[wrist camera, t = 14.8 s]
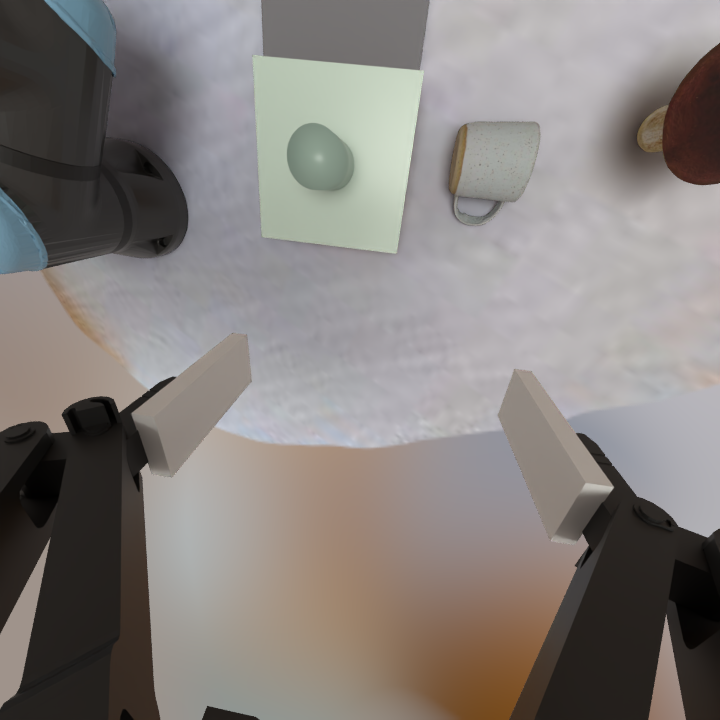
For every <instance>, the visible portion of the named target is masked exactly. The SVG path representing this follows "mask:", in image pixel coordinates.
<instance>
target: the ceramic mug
mask: <svg viewBox="0 0 720 720" xmlns="http://www.w3.org/2000/svg"><path fill="white" fill-rule="evenodd" d="M539 143H540V126H539V124H538V123H536V122H474V123H468V124H465V125H463V126H462V127H461V128H460V129H459V131H458V134H457V137H456V141H455V146H454V151H453V156H452V162H451V169H450V176H449V190H450V192H451V193H452V194H455V195H454V212H455V215H456V217H457V218H458V219H459V221H460V222H462V223H464V224H466V225H471V226H479V225H483V224H485V223H487V222H489V221H490V220H492V219H493V218H494V217H495V216H496V215H497V213H498V212H499V211H500V209H501V208H502V206H503V204H504V202H516V201H517V200H518V199H519V198H520V197H521V195H522V193H523V192H524V190H525V188H526V186H527V183H528V181H529V179H530V176H531V174H532V170H533V168H534V164H535V161H536V157H537V152H538V148H539ZM459 196H461V197H469V198H481V199H488V200H496V201H498V203H497V205H496V206H495V208H494V209H493V210H492V211H491V212H490V213H489V214H487V215H486V216H483V217H474V216H469V215H467V214H466V213H465V214H461V213H460V212H459V210H458V208H457V201H458V197H459Z"/></svg>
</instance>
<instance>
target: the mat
mask: <svg viewBox="0 0 720 720" xmlns="http://www.w3.org/2000/svg"><path fill="white" fill-rule="evenodd" d="M261 2H262V29H263V56H267V57H278V58H289V59H300V60H311V61H322V62H333V63H344V64H355V65H366V66H377V67H388V68H399V69H410V70H419V69H420V62H421V55H422V48H423V41H424V34H425V27H426V20H427V13H428V6H429V0H261Z"/></svg>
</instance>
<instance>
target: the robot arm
mask: <svg viewBox="0 0 720 720" xmlns="http://www.w3.org/2000/svg"><path fill="white" fill-rule="evenodd" d="M115 46H116V26H115V22H114V19H113V17H112V15H111V13H110V11H109V9H108V8H107V6H106V5H105V4H104V2H103V1H102V0H0V274H8V273H15V272H22V271H39V270H42V269H45V268H49V267H53V266H58V265H62V264H66V263H71V262H75V261H79V260H84V259H88V258H92V257H97V256H101V255H105V254H110V253H114V254H119V255H125V256H131V257H137V258H153V257H158V256H161V255H165V254H168V253H170V252H172V251H173V250H174V249H176V248H177V247H178V246H179V244H180V243H181V242H182V240H183V238H184V236H185V233H186V229H187V222H188V215H187V206H186V202H185V198H184V195H183V192H182V190H181V187H180V185H179V183H178V181H177V180H176V178H175V176H174V175H173V173H172V172H171V171H170V169H169V168H168V167H167V165H166V164H165V163H164V162H163V161H162V160H161V159H160V158H159V157H158V156H156V155H155V154H154V153H153V152H151V151H150V150H148V149H147V148H145V147H143V146H141V145H139V144H137V143H134V142H131V141H126V140H121V139H115V138H105V135H106V127H107V119H108V111H109V102H110V94H111V86H112V78H113V77H116V69H115V67H114V60H115ZM251 381H252V379H251V369H250V359H249V349H248V339H247V335H245V334H237V333H232V334H230V335H229V336H228V337H227V338H225V339H224V340H223V341H222V342H220V343H219V344H218V345H217V346H215V347H214V348H213V349H212V350H210V351H209V352H208V353H207V354H205V355H204V356H203V357H202V358H200V359H199V360H198V361H197V362H195V363H194V364H193V365H192V366H190V367H189V368H188V369H186V370H185V371H184V372H183V373H181V374H180V375H179V376H178V377H170V378H168V379H166V380H164V381H161V382H159V383H158V384H157V385H155V386H154V387H153V388H151V389H150V391H147V392H146V393H145V394H143V395H142V397H140V398H138V399H137V400H136V401H134V402H133V403H132V404H130V405H129V406H128V407H126V408H125V409H124V410H122V411H121V412H120V413H119V412H118V409H117V406H116V404H115V402H114V399H112V398H110V397H102V396H100V397H92V398H88V399H84V400H81V401H79V402H76V403H74V404H72V405H70V406H69V407H68V408H66V409H65V410H64V412H63V413H62V417H63V419H64V421H65V423H66V425H67V427H68V429H69V432H63V433H51V431H50V429H49V427H48V425H47V424H46V423H44V422H40V421H38V422H27V423H21V424H18V425H16V426H12V427H9V428H8V429H6V430H4V431H2V432H0V633H1V631H2V629H3V627H4V626H5V624H6V622H7V619H8V618H9V616H10V614H11V612H12V610H13V608H14V606H15V604H16V602H17V600H18V598H19V597H20V595H21V592H22V591H23V589H24V587H25V585H26V583H27V581H28V579H29V577H30V575H31V573H32V572H33V570H34V568H35V566H36V564H37V562H38V560H39V558H40V556H41V554H42V552H43V550H44V548H45V546H46V545H47V543H48V541H49V539H50V544H49V549H48V553H47V558H46V563H45V568H44V573H43V578H42V583H41V588H40V593H39V598H38V603H37V608H36V613H35V618H34V623H33V628H32V632H31V638H30V642H29V648H28V653H27V657H26V663H25V667H24V672H23V677H22V681H21V685H20V688H19V690H18V691H17V693H16V695H15V696H14V697H12V698H10V699H9V700H8V701H6V702H5V703H4V704H3V706H2V707H1V709H0V720H160V715H159V710H158V706H157V701H156V697H155V691H154V680H153V679H154V678H153V661H152V643H151V625H150V608H149V589H148V573H147V554H146V538H145V537H146V536H145V520H144V501H143V483H142V476H141V473H140V470H141V469H142V468H143V467H144V466H145V464H147V463H148V464H149V467H150V470H151V473H152V474H153V475H159V476H165V477H173V475H174V474H175V473H176V472H177V471H178V470H179V468H180V467H181V466H182V465H183V463H184V462H185V461H186V460H187V459H188V457H189V456H190V455H191V454H192V452H193V451H194V450H195V449H196V448H197V447H198V445H199V444H200V443H201V442H202V440H203V439H204V438H205V437H206V436H207V434H208V433H209V432H210V431H211V430H212V428H213V427H214V426H215V425H216V424H217V422H218V421H219V420H220V419H221V418H222V416H223V415H224V414H225V413H226V412H227V410H228V409H229V408H230V407H231V406H232V404H233V403H234V402H235V401H236V399H237V398H238V397H239V396H240V395H241V393H242V392H243V391H244V390H245V389H246V387H247V386H248V385H249V384H250V383H251ZM498 417H499V420H500V422H501V424H502V427H503V429H504V432H505V434H506V436H507V439H508V441H509V443H510V446H511V448H512V451H513V453H514V455H515V458H516V460H517V463H518V465H519V467H520V470H521V472H522V475H523V477H524V479H525V482H526V484H527V486H528V489H529V491H530V493H531V496H532V499H533V501H534V503H535V506H536V508H537V510H538V513H539V515H540V518H541V520H542V522H543V525H544V527H545V530H546V532H547V534H548V537H549V539H550V541H553V542H559V543H565V544H571V545H575V544H576V542H577V541H578V539H579V538H580V536H581V535H582V534H583V535H584V536H585V539H586V541H587V542H588V544H589V546H588V548H587V549H586V551H585V552H584V553H583V555H582V556H581V557H580V559H579V560H578V562H577V563H576V565H575V566H576V567H577V570H576V572H575V574H574V576H573V579H572V581H571V583H570V585H569V588H568V590H567V592H566V594H565V596H564V599H563V601H562V603H561V605H560V608H559V610H558V612H557V614H556V616H555V619H554V621H553V623H552V625H551V628H550V630H549V632H548V634H547V637H546V639H545V641H544V643H543V645H542V648H541V650H540V652H539V655H538V657H537V659H536V661H535V663H534V666H533V668H532V670H531V672H530V674H529V677H528V679H527V681H526V683H525V686H524V688H523V690H522V692H521V695H520V697H519V699H518V701H517V703H516V706H515V708H514V710H513V712H512V715H511V717H510V719H509V720H648V718H649V712H650V706H651V700H652V694H653V688H654V682H655V676H656V670H657V664H658V658H659V652H660V646H661V641H662V634H663V628H664V623H665V617H666V615H667V620H668V625H669V631H670V636H671V641H672V646H673V652H674V658H675V662H676V668H677V674H678V679H679V684H680V690H681V695H682V701H683V706H684V710H685V716H686V720H720V529H718V530H716V531H715V532H713V534H712V535H711V536H710V537H708V538H707V537H704V536H702V535H699V534H696V533H694V532H691V531H688V530H686V529H683V528H681V527H678V525H677V524H676V522H675V521H674V520H673V518H672V517H671V516H669V514H667V513H666V512H665V511H664V510H663V509H661V508H660V507H658V506H657V505H655V504H654V503H652V502H650V501H647V500H645V499H643V498H639V497H637V496H636V494H635V493H634V492H633V491H632V489H631V488H630V487H629V485H628V484H627V483H626V481H625V480H624V479H623V478H622V476H621V475H620V474H619V472H618V471H617V470H616V469H615V467H614V466H612V463H611V462H610V461H609V459H608V458H607V457H605V454H604V453H603V452H602V450H601V449H600V448H599V446H598V445H597V444H596V443H595V442H594V441H592V440H591V439H590V438H588V437H587V436H586V435H585V434H581V433H575V432H574V430H573V429H572V428H571V426H570V425H569V423H568V422H567V421H566V419H565V418H564V416H563V415H562V414H561V412H560V411H559V409H558V408H557V407H556V405H555V404H554V402H553V401H552V400H551V398H550V397H549V395H548V394H547V392H546V391H545V390H544V388H543V387H542V385H541V384H540V383H539V381H538V380H537V378H536V377H535V376H534V374H533V373H532V371H526V370H518V369H514V372H513V375H512V378H511V380H510V383H509V386H508V389H507V391H506V394H505V397H504V400H503V402H502V405H501V408H500V411H499V413H498ZM50 537H51V538H50ZM202 720H259V719H258V718H256V717H254V716H249V715H244V714H240V713H236V712H231V711H227V710H223V709H218V708H214V707H209V706H207V708H206V711H205V713H204V716H203V718H202Z"/></svg>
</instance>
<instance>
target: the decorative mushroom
mask: <svg viewBox="0 0 720 720" xmlns="http://www.w3.org/2000/svg"><path fill="white" fill-rule="evenodd" d="M637 142H638V145H639V146H640V147H641V148H642V149H643V150H644V151H646V152H660V151H663V156H664V159H665V162H666V164H667V166H668V168H669V169H670V170H671V172H672V173H673V174H674V175H675V176H677V177H678V178H679V179H681V180H683V181H685V182H688V183H692V184H696V185H711V184H718V183H720V43H719V44H718V45H717V46H715V47H714V48H713V49H711V50H710V51H709V52H708V53H707V54H706V55H705V56H704V57H703V58H701V59H700V60H699V62H698V63H697V64H696V65H695V66H694V67H693V68H692V69H691V71H690V72H689V73H688V74H687V75H686V77H685V78H684V79H683V81H682V82H681V84H680V85H679V87H678V89H677V90H676V92H675V94H674V96H673V97H672V99H671V101H670V103H669V105H666V106H663V107H661V108H659V109H657V110H656V111H654V112H653V113H652V114H650V115H649V116H648V117H647V118H646V119H645V120H644V121H643V123H642V125H641V126H640V128H639V130H638V134H637Z"/></svg>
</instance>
